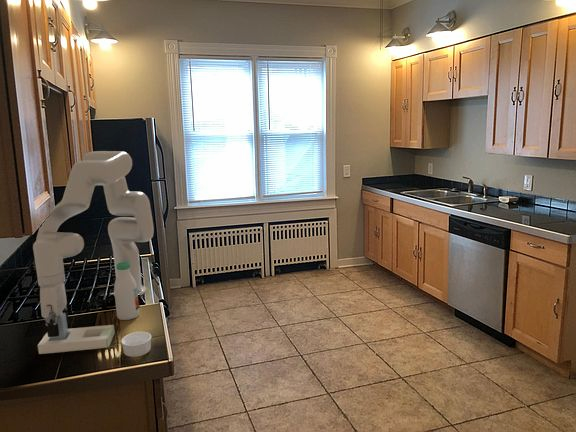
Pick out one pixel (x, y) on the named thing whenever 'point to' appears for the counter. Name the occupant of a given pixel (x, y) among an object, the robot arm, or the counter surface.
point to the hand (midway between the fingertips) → (58, 329)
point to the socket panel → (79, 340)
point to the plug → (61, 327)
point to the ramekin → (136, 344)
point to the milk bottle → (126, 293)
